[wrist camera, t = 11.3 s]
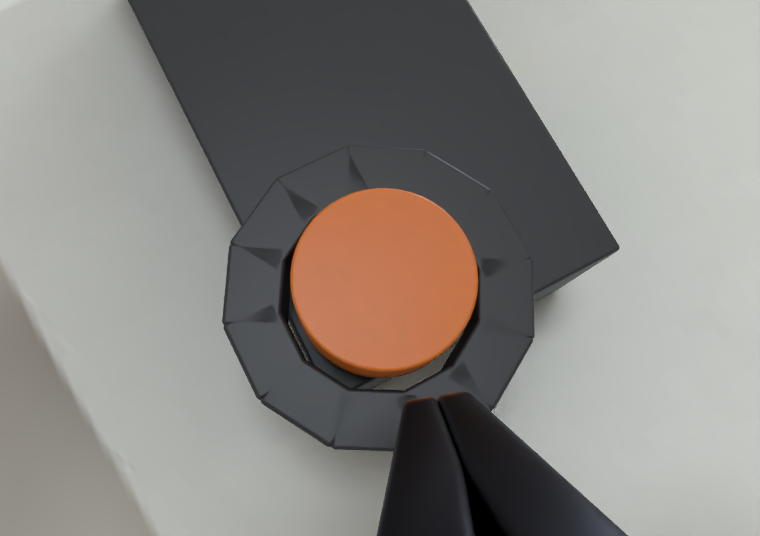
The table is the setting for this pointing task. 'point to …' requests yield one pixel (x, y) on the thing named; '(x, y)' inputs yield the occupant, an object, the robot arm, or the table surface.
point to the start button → (383, 282)
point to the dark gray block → (371, 179)
